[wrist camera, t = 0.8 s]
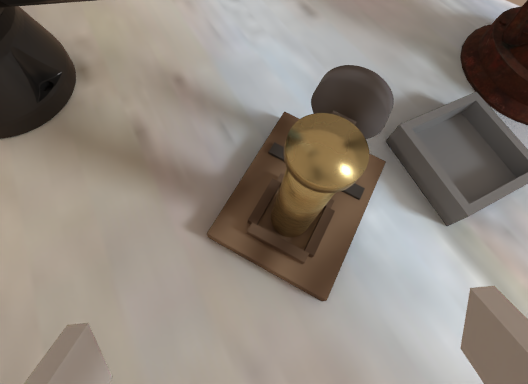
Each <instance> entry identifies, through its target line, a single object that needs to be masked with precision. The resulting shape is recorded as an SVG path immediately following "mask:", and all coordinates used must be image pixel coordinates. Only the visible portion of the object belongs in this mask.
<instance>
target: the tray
mask: <svg viewBox="0 0 528 384" xmlns="http://www.w3.org/2000/svg"><path fill="white" fill-rule="evenodd" d="M386 142H387V143H388V145H389V146H390V148H391V149H392V150H393V152H394V153H395V155H396V156H397V157H398V159H399V160H400V161H401V163H402V164H403V166H404V167H405V168H406V170H407V171H408V173H409V174H410V175H411V177H412V178H413V180H414V181H415V182H416V184H417V185H418V186H419V188H420V189H421V191H422V192H423V193H424V195H425V196H426V198H427V199H428V200H429V202H430V203H431V205H432V206H433V207H434V209H435V210H436V211H437V213H438V214H439V216H440V217H441V218H442V220H443V221H444V223H445V224H446V225H447V226H449V225H451V224H453V223H455V222H457V221H460V220H462V219H464V218H466V217H468V216H470V215H472V214H474V213H476V212H477V211H479V210H481V209H483V208H485V207H486V206H488V205H490V204H492V203H494V202H495V201H497V200H499V199H501V198H503V197H504V196H506V195H508V194H510V193H512V192H513V191H515V190H517V189H519V188H521V187H522V186H524V185H526V184H528V149H527V148H526V147H525V146H524V145H523V144H522V143H521V141H520V140H519V139H518V138H517V137H516V136H515V135H514V134H513V132H512V131H511V130H510V129H509V128H508V127H507V126H506V124H505V123H504V122H503V121H502V120H501V119H500V118H499V117H498V115H497V114H496V113H495V112H494V111H493V110H492V109H491V108H490V106H489V105H488V104H487V103H486V102H485V101H484V100H483V98H482V97H481V96H480V95H479V94H478V93H477V92H475V93H472V94H470V95H468V96H465V97H463V98H461V99H458V100H456V101H454V102H451V103H449V104H446V105H444V106H442V107H439V108H437V109H435V110H432V111H430V112H428V113H425V114H423V115H421V116H418V117H416V118H414V119H411V120H409V121H407V122H404V123H402V124H400V125H399V126H398V127H397V128H396V129H395V131H394V132H393V133H392V134H391V135H390V137H389V138H388V139H387V140H386Z"/></svg>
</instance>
